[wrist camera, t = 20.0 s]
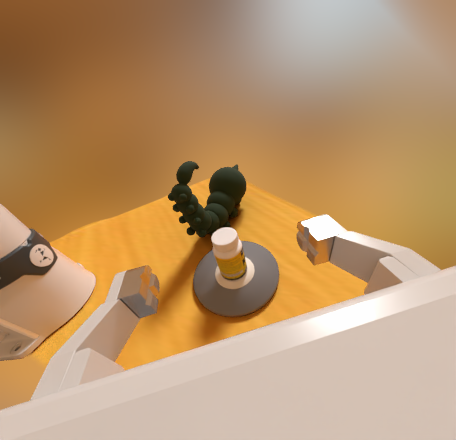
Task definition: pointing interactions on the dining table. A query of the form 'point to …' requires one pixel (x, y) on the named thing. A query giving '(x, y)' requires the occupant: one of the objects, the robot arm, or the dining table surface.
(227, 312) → the charcoal plate
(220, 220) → the toy figurine
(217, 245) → the supplement bottle
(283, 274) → the dining table surface
